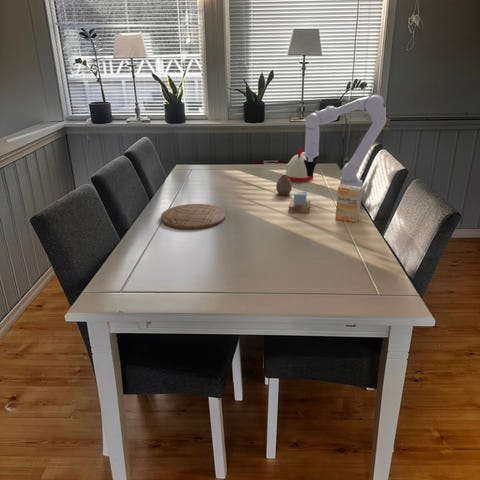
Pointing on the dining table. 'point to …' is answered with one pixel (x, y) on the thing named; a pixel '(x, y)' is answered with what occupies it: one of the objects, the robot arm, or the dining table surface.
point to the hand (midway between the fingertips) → (310, 174)
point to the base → (299, 207)
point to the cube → (300, 198)
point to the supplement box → (348, 203)
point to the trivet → (193, 216)
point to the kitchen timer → (297, 168)
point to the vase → (284, 185)
